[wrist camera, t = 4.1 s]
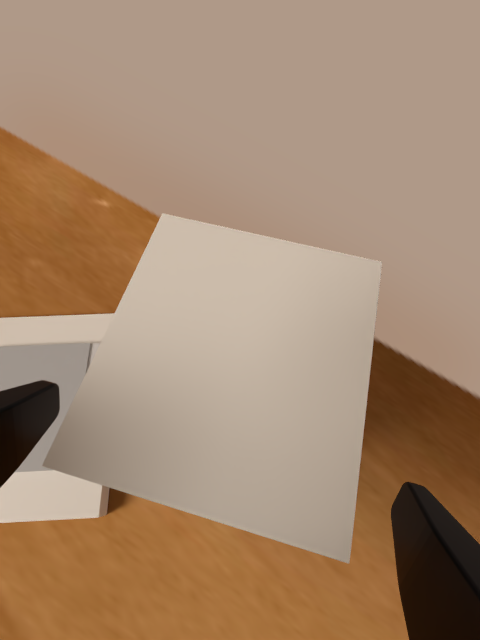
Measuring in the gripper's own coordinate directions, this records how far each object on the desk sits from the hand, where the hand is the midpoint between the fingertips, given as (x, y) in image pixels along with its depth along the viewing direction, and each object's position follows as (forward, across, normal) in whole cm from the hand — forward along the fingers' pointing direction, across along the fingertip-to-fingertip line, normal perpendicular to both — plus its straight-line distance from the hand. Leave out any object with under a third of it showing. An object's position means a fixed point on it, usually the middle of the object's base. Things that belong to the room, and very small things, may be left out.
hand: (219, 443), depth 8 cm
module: (+7, 0, +5) cm, 9 cm away
